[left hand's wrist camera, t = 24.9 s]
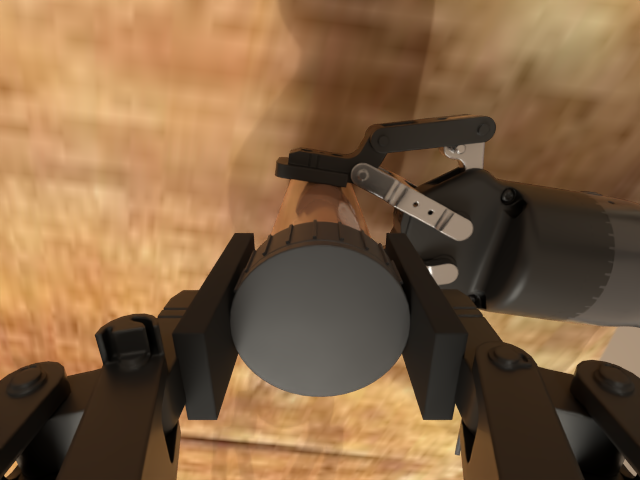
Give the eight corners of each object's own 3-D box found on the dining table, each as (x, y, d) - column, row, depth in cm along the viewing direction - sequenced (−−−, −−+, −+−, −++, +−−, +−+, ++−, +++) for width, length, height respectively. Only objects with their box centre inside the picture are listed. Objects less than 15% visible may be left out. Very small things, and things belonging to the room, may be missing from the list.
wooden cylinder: (344, 229, 26) (371, 376, 12) (283, 216, 26) (239, 354, 12) (359, 168, 25) (410, 259, 11) (294, 154, 24) (259, 229, 10)
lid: (420, 238, 12) (440, 265, 10) (373, 368, 14) (381, 411, 12) (255, 201, 11) (241, 222, 9) (231, 341, 13) (216, 382, 11)
